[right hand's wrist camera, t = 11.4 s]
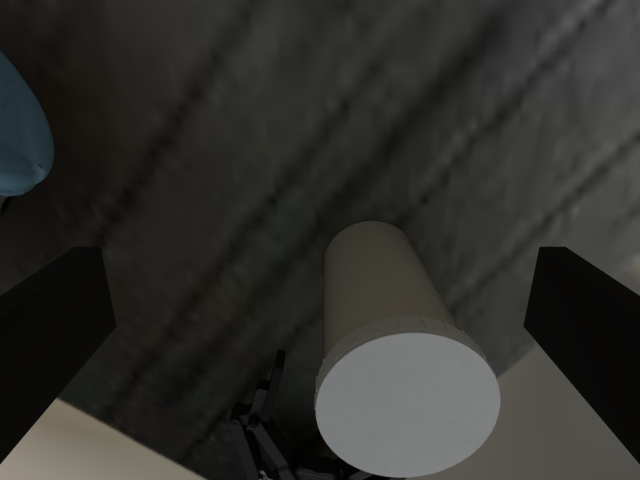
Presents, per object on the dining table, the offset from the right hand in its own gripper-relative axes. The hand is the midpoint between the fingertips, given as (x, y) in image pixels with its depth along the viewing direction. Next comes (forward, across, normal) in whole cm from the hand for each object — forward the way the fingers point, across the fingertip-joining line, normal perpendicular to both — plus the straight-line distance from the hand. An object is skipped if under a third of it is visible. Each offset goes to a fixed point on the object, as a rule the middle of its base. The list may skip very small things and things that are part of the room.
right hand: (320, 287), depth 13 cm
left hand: (+21, -3, +20) cm, 29 cm away
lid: (+8, -5, +12) cm, 15 cm away
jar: (+27, -5, +12) cm, 30 cm away
